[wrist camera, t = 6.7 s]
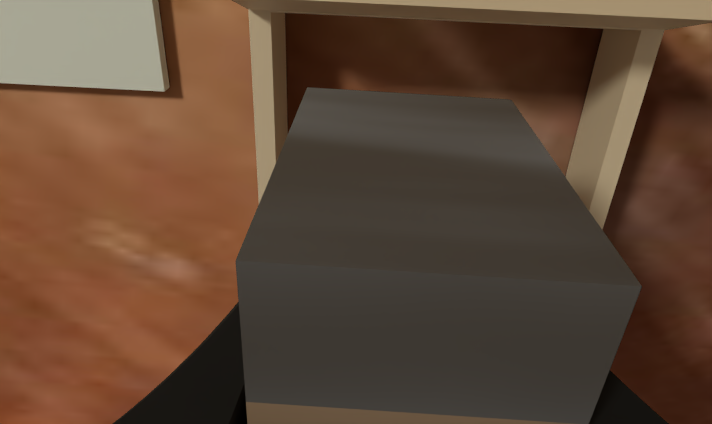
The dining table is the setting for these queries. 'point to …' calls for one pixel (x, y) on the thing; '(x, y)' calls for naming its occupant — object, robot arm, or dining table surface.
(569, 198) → the block
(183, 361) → the robot arm
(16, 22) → the mat
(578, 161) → the wooden box
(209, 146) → the dining table surface
